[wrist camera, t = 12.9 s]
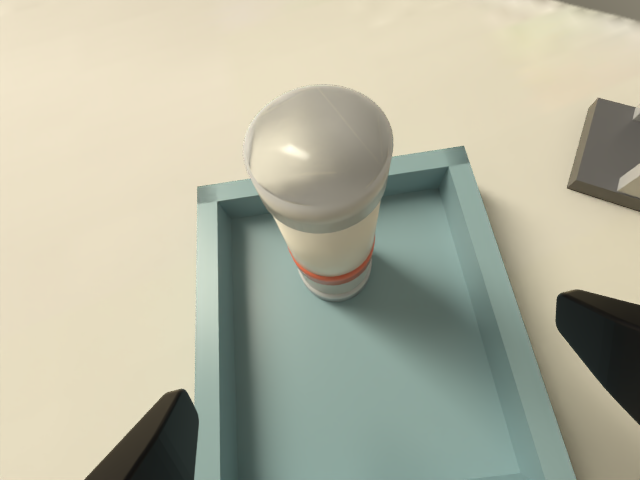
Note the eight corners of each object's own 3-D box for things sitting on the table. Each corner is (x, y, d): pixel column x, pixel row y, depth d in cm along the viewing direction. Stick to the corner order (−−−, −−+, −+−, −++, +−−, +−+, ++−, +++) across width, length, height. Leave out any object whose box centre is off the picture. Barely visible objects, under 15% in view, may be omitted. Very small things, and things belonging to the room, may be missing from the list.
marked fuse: (385, 265, 20) (425, 135, 9) (336, 317, 20) (317, 241, 8) (334, 222, 22) (315, 63, 11) (286, 269, 21) (212, 148, 10)
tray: (544, 493, 17) (591, 522, 13) (222, 530, 17) (192, 567, 14) (448, 177, 23) (463, 145, 20) (218, 212, 24) (197, 186, 21)
